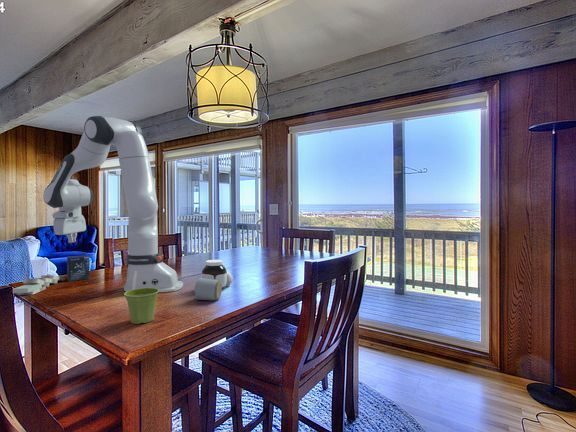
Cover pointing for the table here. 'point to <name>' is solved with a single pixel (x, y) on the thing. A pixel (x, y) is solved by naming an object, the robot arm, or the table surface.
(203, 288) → the ceramic mug
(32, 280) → the domino
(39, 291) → the domino
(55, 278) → the end domino
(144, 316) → the plant pot
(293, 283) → the table surface
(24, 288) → the domino
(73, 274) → the box
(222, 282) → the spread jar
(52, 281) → the domino
